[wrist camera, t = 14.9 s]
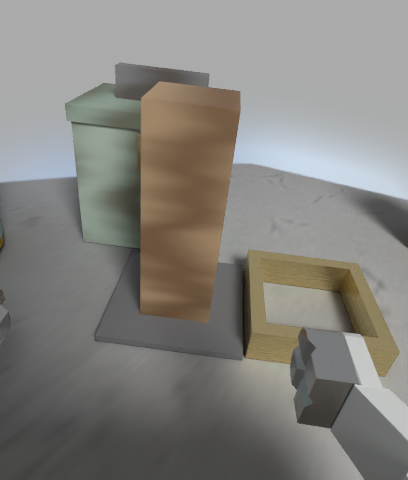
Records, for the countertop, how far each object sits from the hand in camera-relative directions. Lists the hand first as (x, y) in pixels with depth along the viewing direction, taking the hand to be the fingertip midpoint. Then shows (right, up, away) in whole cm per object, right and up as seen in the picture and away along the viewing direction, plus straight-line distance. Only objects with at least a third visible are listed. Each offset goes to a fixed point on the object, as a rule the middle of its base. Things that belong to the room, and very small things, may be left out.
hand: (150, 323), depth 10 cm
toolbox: (-2, +3, +20) cm, 21 cm away
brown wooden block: (0, -1, +13) cm, 13 cm away
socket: (+8, -3, +13) cm, 15 cm away
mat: (0, -1, +13) cm, 13 cm away
